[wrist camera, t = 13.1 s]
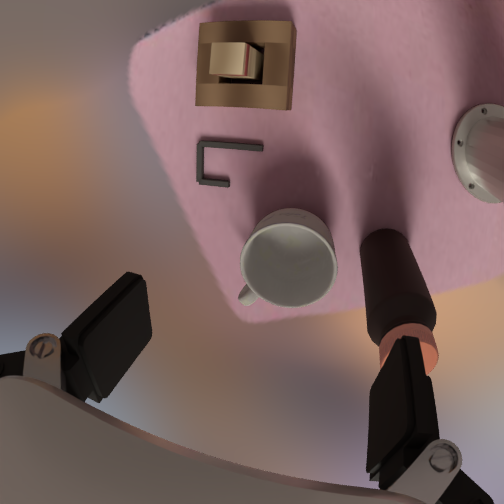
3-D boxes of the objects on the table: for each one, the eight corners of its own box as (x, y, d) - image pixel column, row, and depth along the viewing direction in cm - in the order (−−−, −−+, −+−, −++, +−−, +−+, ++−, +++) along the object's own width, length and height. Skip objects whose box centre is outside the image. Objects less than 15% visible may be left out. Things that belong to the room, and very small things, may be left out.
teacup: (307, 184, 38) (301, 204, 31) (352, 253, 40) (355, 286, 33) (222, 238, 44) (200, 266, 37) (268, 296, 46) (255, 331, 39)
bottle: (392, 217, 37) (431, 316, 19) (417, 257, 38) (459, 367, 20) (349, 246, 40) (353, 357, 22) (376, 282, 41) (390, 400, 24)
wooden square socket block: (296, 30, 29) (291, 21, 25) (291, 109, 34) (285, 110, 30) (214, 30, 31) (199, 23, 27) (210, 105, 36) (195, 106, 32)
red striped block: (265, 55, 32) (245, 42, 24) (263, 81, 33) (242, 74, 25) (238, 54, 32) (211, 42, 24) (236, 79, 34) (209, 74, 26)
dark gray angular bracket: (263, 145, 37) (262, 145, 36) (260, 189, 39) (259, 191, 39) (199, 140, 38) (196, 141, 38) (198, 182, 41) (196, 184, 40)
